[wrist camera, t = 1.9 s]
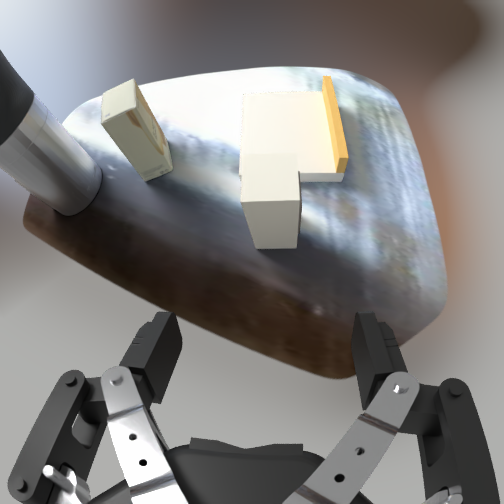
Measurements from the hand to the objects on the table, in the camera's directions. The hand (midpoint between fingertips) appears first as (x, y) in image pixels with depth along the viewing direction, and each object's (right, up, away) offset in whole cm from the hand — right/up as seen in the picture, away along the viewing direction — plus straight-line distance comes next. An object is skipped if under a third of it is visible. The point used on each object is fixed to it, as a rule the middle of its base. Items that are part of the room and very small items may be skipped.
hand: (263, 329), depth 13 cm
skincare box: (-14, +16, +26) cm, 33 cm away
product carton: (+2, +6, +20) cm, 21 cm away
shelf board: (+4, +18, +24) cm, 31 cm away
